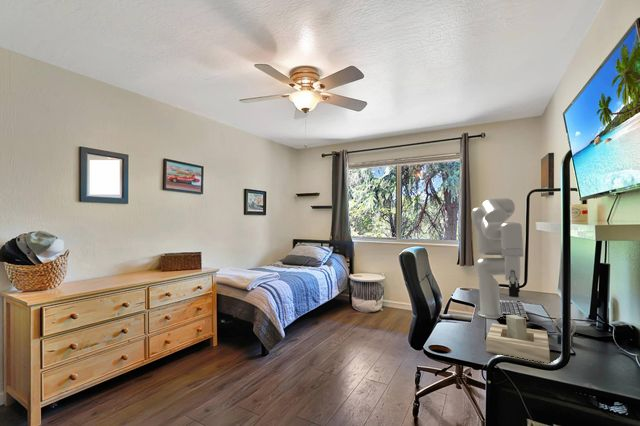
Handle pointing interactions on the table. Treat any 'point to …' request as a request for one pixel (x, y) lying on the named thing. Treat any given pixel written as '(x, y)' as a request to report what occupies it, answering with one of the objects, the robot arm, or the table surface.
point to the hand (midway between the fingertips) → (514, 294)
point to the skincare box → (516, 327)
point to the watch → (560, 333)
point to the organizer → (518, 344)
